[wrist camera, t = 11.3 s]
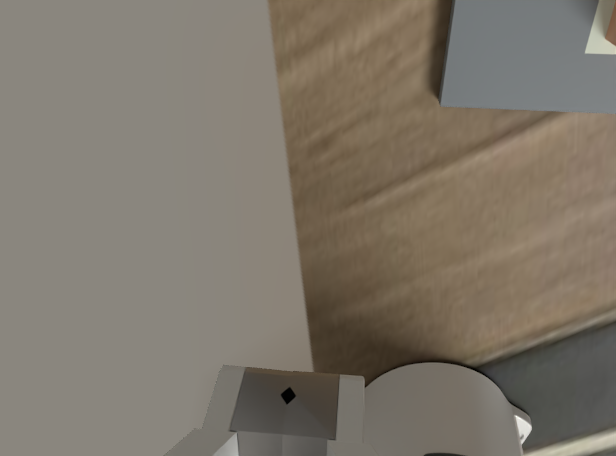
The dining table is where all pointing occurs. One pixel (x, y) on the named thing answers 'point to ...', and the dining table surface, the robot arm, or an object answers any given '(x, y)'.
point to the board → (530, 56)
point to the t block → (612, 28)
